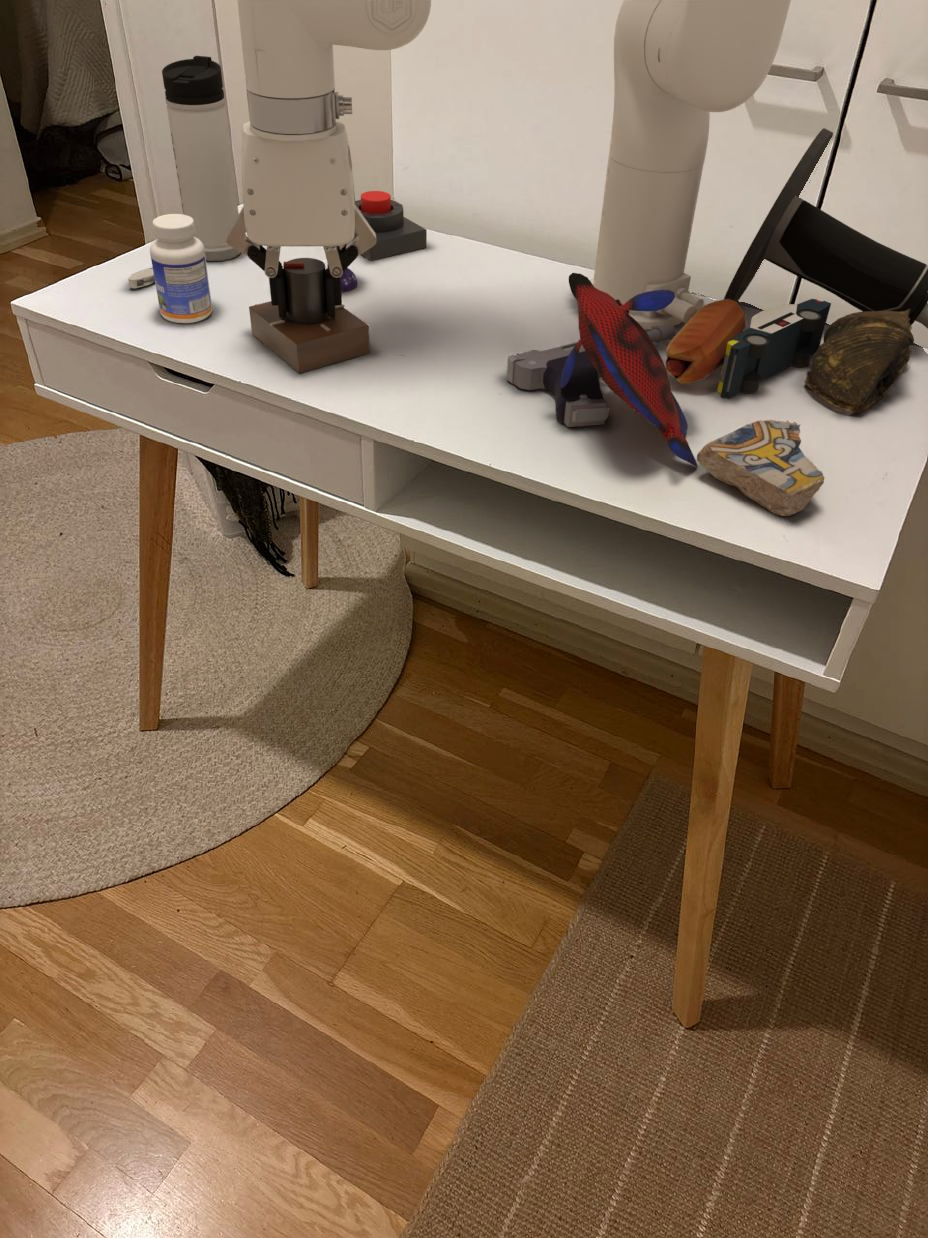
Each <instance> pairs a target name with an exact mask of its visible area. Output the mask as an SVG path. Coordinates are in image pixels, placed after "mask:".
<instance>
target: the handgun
mask: <svg viewBox="0 0 928 1238" xmlns="http://www.w3.org/2000/svg"><path fill="white" fill-rule="evenodd" d="M651 328H653V330H645V331H646V332H647V334H648V335H649V337H650V339H651V340H652V342H653V343H656V344H659V343H664V342H667V341H671V340H672V339H673V338H674V337H675V336H676V335H677V330H676V327H675V326H673V325H670V324H665V325H662V326H653V327H651ZM577 342H578V341H576V342H571V343H568V344H563V345H560V346H557V347H553V348H549V349H545V350H537V349H532V350H527V351H525V352H516V353H515V354H510V355H508V356H507V367H506V368H507V369H506V380H507V381H508V382H510V383H511V384H512V385H515V386H516V387H517V388H519V389H522V390H528V391H533V390H541V389H543V390H545V391H546V392H549V393H550V394H552V395H553V396H554V397H555V412H556V416H557V418H558V420H559V422H560V423H561V424H562V425H566V426H567V428H573V427H585V426H586V427H587V426H599V425H600V426H601V425H605V421H606V420H607V419H608V417H609V415H610V409H609V408H608V401H607V400H606V398H605V397H604V393H603V392H602V389H601V383H600V379H601V377H600V375H599V374H598V372H597V370H596V369H595V367H594V365H593V364H592V362H591V360H590V358H589V356H588V355H587V353H586V351H585V349H584V348H583V346H582V345H581V348H580V350H579V353H578V356H577V359H576V362H575V365H574V368H573V371H572V374H571V377H570V379H569V381H568V383H567V385H566V386H565V387H563V388H561V387H560V385H561V376H562V371H563V368H564V365H565V362H566V360H567V357H568V356H569V354H570V352H571V351H572V349H573V348H574V346H575V345H576V344H577Z"/></svg>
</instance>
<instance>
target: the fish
mask: <svg viewBox="0 0 928 1238" xmlns="http://www.w3.org/2000/svg"><path fill="white" fill-rule="evenodd" d="M590 280H591V279H589V278H588V276H586V275H584V274H582V273H577V272H572V273H570V274H569V275H568V285H569V289H570V292H571V293H572V295H573V297H574V298H575V300H576V303H577V302H578V304H577V311H578V312H577V313H578V314H577V315H578V333H579V339H578V341H576V342H577V344H576V345H575V346H574V348H573V349H572V351H571V352H570V354H569V356H568V357H567V360H566V362H565V365H564V368H563V371H562V376H561V385H560V387H561V388H563V387H565V386H566V385H567V383H568V381H569V379H570V377H571V374H572V371H573V368H574V365H575V362H576V359H577V356H578V353H579V350H580V348H581V345H582V346H583V348H584V349H585V351H586V353H587V355H588V356H589V358H590V360H591V362H592V364H593V365H594V367H595V369H596V370H597V372H598V374H599V375H600V379H601V380H602V381H603V383H604V384H605V385H606V386H607V387H608V388H609V390H610V391H611V392H612V393H613V394H614V395H616V397H618V398H619V399H620V400H621V401H622V402H623V403H624V404H626V405H627V407H629V408H631V409H632V411H634V412H636V413H637V414H638V415H640V416H641V417H643V418H644V419H645V420H647V421H648V422H649V423H651V424H652V425H653V426H654V427H655V428H656V429H657V430H658V431H659V432H660V434H661V435H662V436H663V439H665V440H666V442H667V446H668V448H669V449H670V451H671V453H673V454H674V456H676V457H677V458H679V459H680V460H682V461H684V462H687V463H689V464H690V465H692V466H693V467H696V468H698V463H697V459H696V458H695V456H694V453H693V452H692V449H691V447H690V445H689V442H688V441H687V440H686V437H684V435H685V434H686V433H687V431H688V428H689V427H688V421H687V418H686V416H685V414H684V412H683V409H682V408H681V406H680V404H679V402H678V400H677V398H676V397H675V395H674V393H673V392H672V389H671V388H672V387H671V383H670V376H669V372H668V371H667V370H666V364H665V362H664V360H663V358H662V356H661V354H660V352H659V350H658V349H657V347H656V344H655V342H652V340H651V339H650V337H649V335H648V334H647V332H646V331H647V330H644V329H643V327H642V326H641V325H640V324H639V323H638V322H637V321H636V320H635V319H634V318H633V317H631V316H630V315H629V310H631V311H658V310H661V309H663V308H666V307H667V306H668V305H669V304H671V303H672V301H673V300H674V298H675V294H674V292H672V291H670V290H655V291H649V292H645V293H641V294H638V295H636V296H634V297H633V298H631V299H630V300H628V301H627V302H626V303H625V304H623V303H622V302H621V301H620V300H619V299H617V300H615V299H614V298H613V297H612V296H610V295H609V294H608V293H605V292H603V291H600V290H598V289H597V288H595V287H594V286H593V284H592V283H591V281H590Z"/></svg>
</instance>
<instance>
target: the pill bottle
mask: <svg viewBox="0 0 928 1238" xmlns="http://www.w3.org/2000/svg"><path fill="white" fill-rule="evenodd" d="M152 229H153V230H152V231H153V235H154V237H155V238H156V239H154V240H153V241H152V242H151V244H150V247H149V254H150V260H151V266H152V267H151V268H153V273H154V278H155V282H154V284H155V289H156V295H157V302H158V307H159V312H160V314H161V317H163V318H164V319H165V320H166V321H169V322H172V323H177V324H192V323H197V322H202V321H203V320H205V319H207V318H208V317H209V316H210V315H211V314H212V312H213V305H212V296H211V289H210V283H209V275H208V266H207V261H206V258H205V250H204V245H203V243H202V242H201V241H200V240H199V239H197V238H196V237H194V235H195V226H194V220H193V219H192V218H191V217H190V216H187V215H183V213H169V214H162V215H160V216H159V215H158V216H157V217H156V218H154V219H153V220H152Z"/></svg>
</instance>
